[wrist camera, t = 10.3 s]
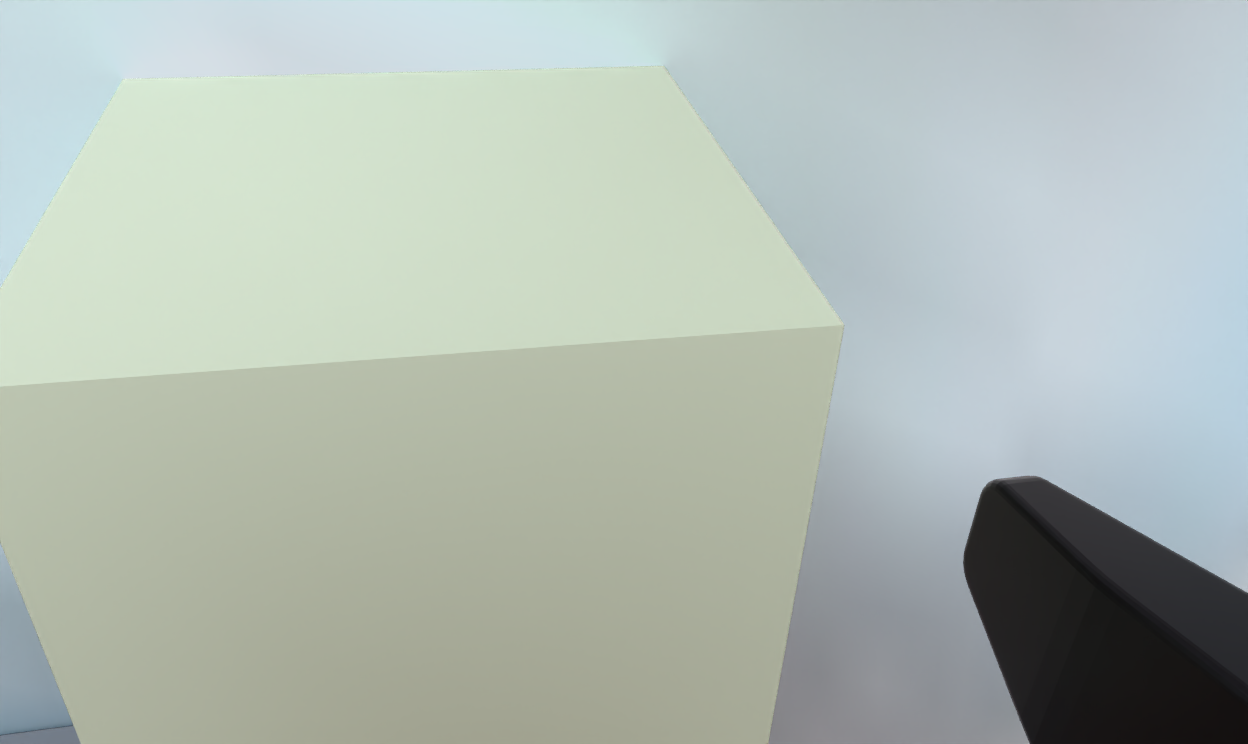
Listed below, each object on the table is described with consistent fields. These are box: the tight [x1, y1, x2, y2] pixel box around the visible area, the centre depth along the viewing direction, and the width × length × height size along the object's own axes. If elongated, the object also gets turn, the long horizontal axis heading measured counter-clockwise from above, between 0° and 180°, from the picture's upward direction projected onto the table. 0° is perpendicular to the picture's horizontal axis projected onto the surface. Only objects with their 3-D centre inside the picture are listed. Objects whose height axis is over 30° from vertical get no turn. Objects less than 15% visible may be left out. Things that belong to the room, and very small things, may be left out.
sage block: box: [0, 66, 844, 744], centre depth 9 cm, size 5×5×5 cm
